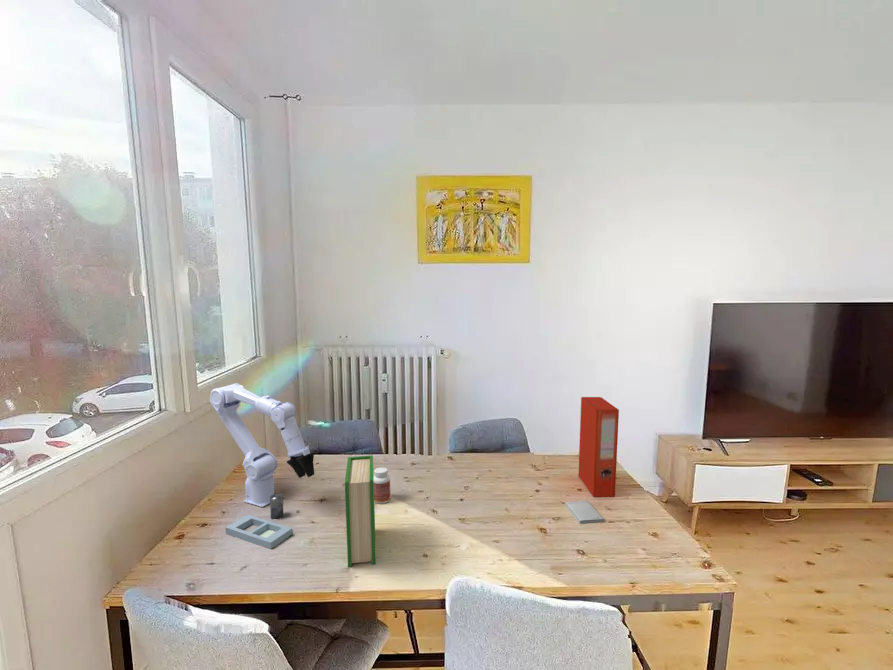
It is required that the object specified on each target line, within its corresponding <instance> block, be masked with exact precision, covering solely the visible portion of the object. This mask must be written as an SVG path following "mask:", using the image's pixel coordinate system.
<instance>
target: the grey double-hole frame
mask: <svg viewBox="0 0 893 670" xmlns="http://www.w3.org/2000/svg"><path fill="white" fill-rule="evenodd" d="M252 525H254V526H256V528H254V529H252V530H251V531H247V530H245V529H246V527H247V528H248V527H250V526H252ZM272 530H273V531H272ZM275 531H276V532H275ZM293 533H294V532H293V527H290V526H287V525H283V524H280V523H276V522H273V521H271V520H268V519H263V518H260V517H257V516H255V515H251V514H247V515H245V516H243V517H241V518H240V519H237V520H236V521H234V522H232V523H230V524H229V525H226V526H225V534H226V535H229V536H231V537H235V538H237V537H238V539H240V540H244V541H246V542H249V543H252V544H255V545H258V546H261V547H264V548H267V549H269V550H272V549H274V548H275V547H277V546H278V545H280V542H281V543H282V542H284V541H285V540H286V538H287V539H288V538H289V536H290V535H291V536H293V535H292V534H293ZM291 536H290V537H291ZM283 540H284V541H283Z"/></svg>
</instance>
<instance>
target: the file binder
mask: <svg viewBox="0 0 893 670" xmlns="http://www.w3.org/2000/svg"><path fill="white" fill-rule="evenodd" d="M619 414H620V409H619V408H617V407H616V406H614V405H613V404H611V403H610V402H609V401H607V400H606V399H604V397H602V396H581V397H580V418H579V419H580V420H579V421H580V423H579V424H580V425H579V451H578V477H579V479H580V480H581V482H582V483H583V485H584V486H585V487H586V488H587V490H588V491H589V493H590V494H591V496H592V497H594V498H615V497H616V479H617V460H618V440H619V438H618V435H619V419H620V418H619V416H620V415H619Z"/></svg>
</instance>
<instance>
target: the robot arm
mask: <svg viewBox="0 0 893 670" xmlns="http://www.w3.org/2000/svg"><path fill="white" fill-rule="evenodd" d="M209 395H210V396H209V403H210V404H211V406H212V407H213V409H214V411H215V412H216V413H217V415H218V417H219V419H220V420H221V422H222V423H223V425H224V427H225V428H226V429H227V431H228V433H229V434H230V436H231V437H232V438H233V440H234V441H235V443H236V445H237V446H238V448H239V449H240V450H241V451H240V452H242V454H243V455H244V456H245V457H244V459H243V462H242V465H241V466H243V469H244V471H245V474H246V477H247V478H246V480H245V481H244V489H245V490H244V492H245V499H244V500H243V502H244V503H247V504H250V505H253V506H257V507H261V508H263V507H266V506H268V505H270V496H271V495H273V494H275V485H274V484H275V483H274V474H275V470H277V467H278V460H277V457H276V456H275V455H274V454H273V453H271V452H270V451H269V449H268V448H264V447H261V446H260V445H259V444H258V442H257V441H256V439H255V437H253V435H252V433H251V432H250V430H249V429H248V427H247V426H246V424H245V423H244V421H243V420H242V418H241V417H240V415H239V414H238V412H237V410H238V409H239V407H240V406H241V403H244V404H247V405H250V406H252V407H255V411H257V412H259V413H261V414H262V415H265V416H268V417H270V419H271V421H272V423H274V424H275V425H276V427H277V428H278V430H279V432H280V435H281V437H282V440H283V442H284V444H285V447H286V449H287V450H286V451H287V452H286V453H287V454H286V455H287V457H288V459H289V460H288V459H287V460H286V463H287V464H288V466H290V467H291V468H292V470H293V471H294V472H295V474H296V475H297V477H298V478H300V479H301V478H302V477H305V476H307V477H308V478H311V477H312V476H314V475H315V466H314V456H315V453H314V452H311V450H310V449H309V448H310V445H306V444H305V442H304V440H303V437H302V433H301V431H300V427H299V426H298V423H297V420H296V418H295V417H296V415H297V409H296V406H295V405H294V404H293V403H291V401H286V402H282V401H280V400H276V399H274V398H271V396H270V395H263V396H260V395H257V394H255V393H253V392H252V391H249V390H247V389H245V387H244V385H241V384H240V383H237V382H235V383H232V384H229V385H225V386H222V387H221V386H220V387H217V388H213V389H212V390H211V392H210V394H209Z"/></svg>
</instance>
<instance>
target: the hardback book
mask: <svg viewBox="0 0 893 670" xmlns="http://www.w3.org/2000/svg"><path fill="white" fill-rule="evenodd" d="M346 463H347V464H346V469H345V470H346V471H345V478H344V479H345V480H344V497H345V498H344V499H345V516H346V517H345V520H346V522H345V525H346V526H345V528H346V548H347V552H346V553H347V568H352V565H353V564H356V563H366V562H371V565H373V566H374V565H376V564H377V561H376V559H377V557H376V555H377V554H376V521H375V520H376V518H375V516H376V515H375V514H376V513H375V502H374V455H371V454H370V455H357V456H347V462H346Z"/></svg>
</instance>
